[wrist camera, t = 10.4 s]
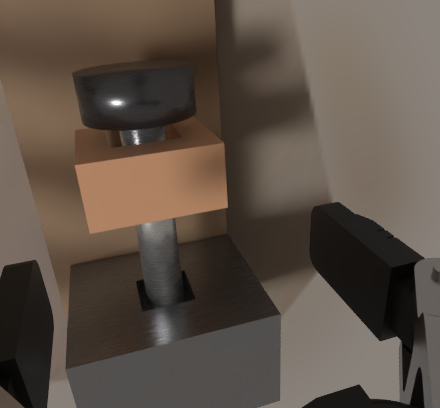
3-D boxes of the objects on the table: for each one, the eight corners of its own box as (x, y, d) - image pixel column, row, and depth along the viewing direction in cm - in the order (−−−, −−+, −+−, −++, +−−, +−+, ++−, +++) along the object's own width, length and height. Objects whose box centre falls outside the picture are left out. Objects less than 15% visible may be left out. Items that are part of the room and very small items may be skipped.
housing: (70, 265, 25) (65, 369, 18) (227, 233, 28) (280, 314, 20) (89, 340, 28) (92, 458, 20) (231, 305, 30) (279, 400, 23)
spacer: (74, 130, 21) (74, 165, 16) (191, 114, 22) (224, 142, 17) (86, 185, 22) (89, 233, 17) (196, 167, 23) (227, 207, 19)
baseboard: (-38, -86, 18) (-47, -94, 17) (200, -88, 21) (208, -95, 20) (75, 334, 29) (75, 349, 28) (225, 298, 32) (231, 311, 30)
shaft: (73, 67, 19) (70, 82, 15) (179, 57, 20) (206, 68, 16) (116, 281, 24) (123, 339, 20) (198, 263, 25) (222, 314, 21)
